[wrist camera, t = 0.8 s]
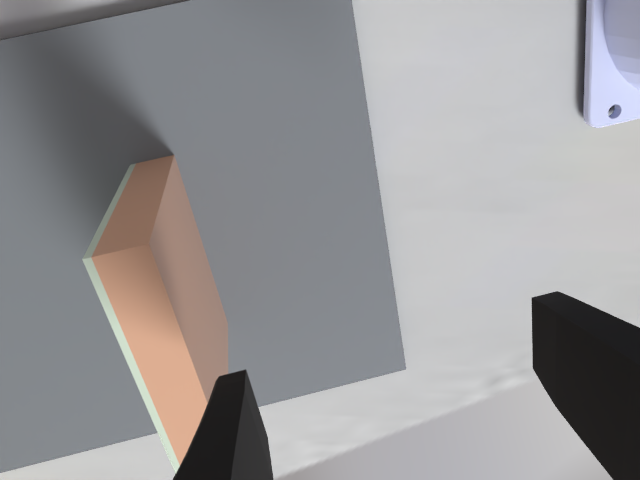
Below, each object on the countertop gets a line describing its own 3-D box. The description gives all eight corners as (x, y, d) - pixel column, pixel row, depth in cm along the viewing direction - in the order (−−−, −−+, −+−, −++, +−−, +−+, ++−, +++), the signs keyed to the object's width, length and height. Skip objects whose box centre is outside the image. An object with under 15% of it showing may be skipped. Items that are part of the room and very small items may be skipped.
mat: (344, -33, 17) (346, -33, 17) (403, 363, 25) (405, 369, 24) (-246, 92, 16) (-257, 94, 16) (-5, 467, 24) (-9, 475, 23)
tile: (174, 154, 19) (149, 244, 12) (227, 322, 22) (229, 461, 16) (130, 164, 19) (82, 259, 12) (190, 332, 22) (176, 475, 15)
